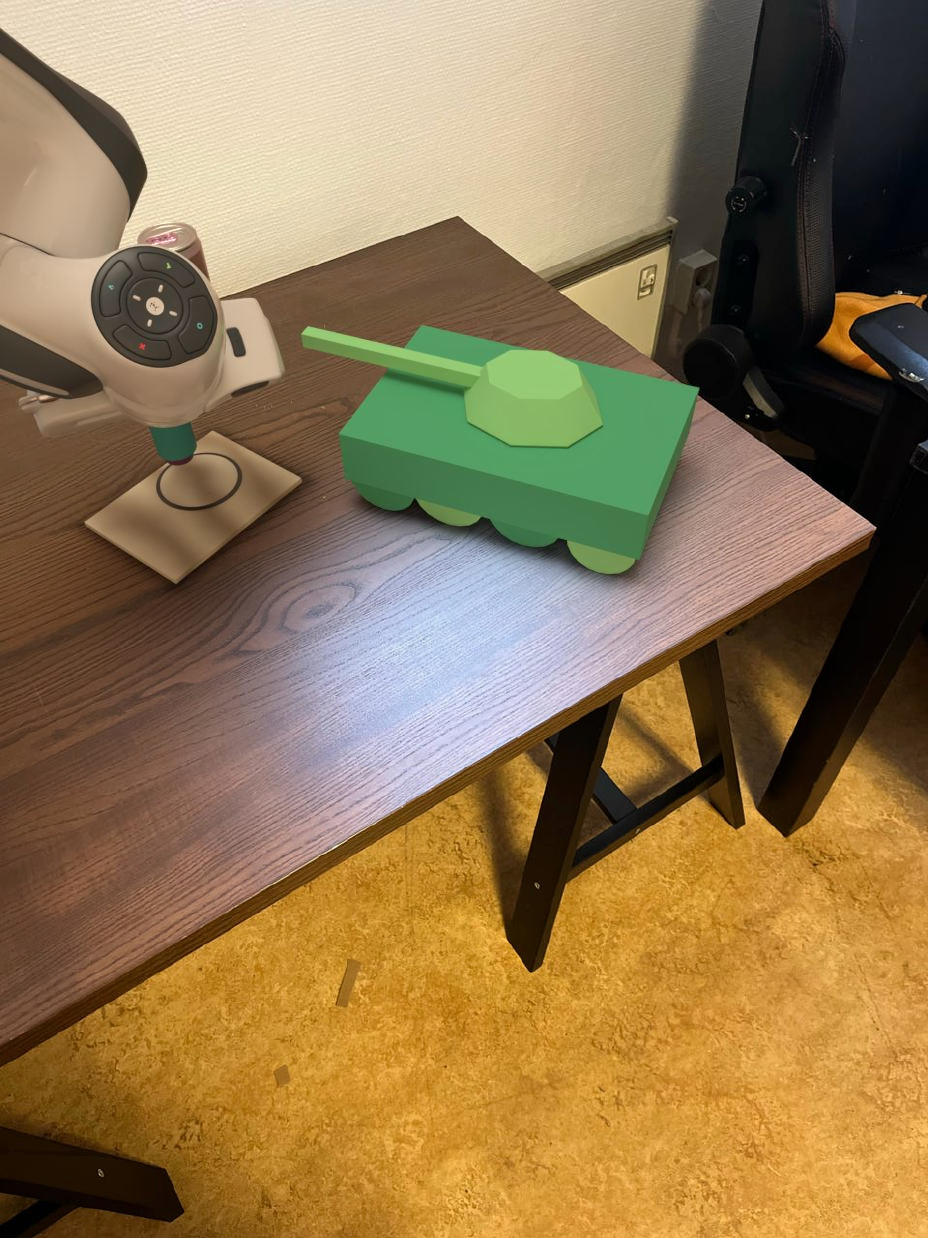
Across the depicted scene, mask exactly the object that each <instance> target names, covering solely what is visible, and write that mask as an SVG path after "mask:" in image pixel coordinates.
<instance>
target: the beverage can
mask: <svg viewBox="0 0 928 1238" xmlns="http://www.w3.org/2000/svg"><path fill="white" fill-rule="evenodd" d="M136 242H137V243H136V244H153V245H158V246H163V247H166V248H169V249H171V250H173V251H175V252H177V253H179V254H181V255H182V256H184V257H185V258H187V259H188V260H189V261H190V262H192V263H193V264H194V265H195V266H196V267H197V268H198V269H199V270H200V271H201V272H202V273H203V274H204V275H205V276H206V278H207V279H208V280H209V282H210V283H211V284H212V282H211V278H210V274H209V269H208V266H207V261H206V257H205V253H204V248H203V245H202V241H201V239H200V238H199V236H198V232H197V230H196V229H195V227H193V225H190V224H188V223H185V222H180V221H166V222H160V223H156V224H153V225H151V226H148V227H146V228H145V229H143V230H142V231H141V232H140V233H139V234H138V236H137V239H136Z"/></svg>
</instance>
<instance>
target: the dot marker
mask: <svg viewBox="0 0 928 1238" xmlns="http://www.w3.org/2000/svg"><path fill="white" fill-rule="evenodd" d="M148 428H149V432H150V434H151V437H152V440H153V441H152V442H153V445H154V447H155V450H156V453H157V456H159V458H160V459H162V460H165V462H166V463H169V464H170V465H174V466H180V465H184V464H187V463H188V462H190V461H191V460H192V459H193V457H194V452H195V450H196V448H197V443H196V442H197V440H196V437H195V433H194V430H193V429H194V428H193V425H192V421H190V422H188V423H185V424H183V425H179V426H175V427H168V428H158V427H151V426H148Z"/></svg>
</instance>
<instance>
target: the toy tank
mask: <svg viewBox="0 0 928 1238" xmlns="http://www.w3.org/2000/svg"><path fill="white" fill-rule="evenodd" d="M300 336H301V337H300V338H301V342H302V347H303V348H305V349H310V350H314V351H318V352H322V353H327V354H329V355H330V354H331V355H334V356H335V355H336V356H340V357H343V358H348V359H351V360H356V361H360V362H363V363H367V364H372V365H376V366H380V367H385V368H387V370H386V371H385V373H384V374H383V375H382V376H381V378H380V379H379V380H378V381H377V383H376V384H375V386H374V387H373V388H372V389H371V391H369V393H368V395H367V396H366V397H365V398H364V400H363V402H361V404H360V405H359V406H358V408H357V409H356V410H355V411H354V413H353V415H352V416H351V417H350V418H349V420H348V421H347V422H346V423H345V425H344V426H343V427H342V429H341V430H340V431H339V432H338V439H339V447H340V453H341V461H342V469H343V475H344V480H347V481H351V484H352V485H353V486H354V488H355V490H356V491H357V492H358V494H360V496H362V497H363V499H364V500H366V501H368V502H370V503H371V504H372V505H374V506H376V507H378V508H381V509H383V510H387V511H392V512H394V511H395V512H397V511H402V510H403V511H404V510H405V509H408V507H410V506H411V504H412V503H413V501H414V500H416V501H417V503H418V505H419V507H421V508H422V509H423V510H424V511H425V512H426V513H427V514H428V515H430V516H431V517H433V519H436V520H437V521H439V522H441V523H444V524H446V525H449V526H456V527H466V526H471V525H473V524H475V523H477V522H478V521H480V519H481V518H485V519H489V520H490V522H491V524H492V525H493V527H494V528H495V529H496V530H497V531H498V532H499V533H500V534H501V535H502V536H503V537H505V538H507V539H508V540H510V541H511V542H514V543H516V544H519V545H521V546H525V547H529V548H540V547H541V548H542V547H546V546H549V545H552V544H554V543H555V542H556V541H557V540H558V539H561V540H563V541H564V540H565V541H566V542H567V544H566V545H567V547H568V549H569V551H570V554H571V555H572V556H573V558H575V559H576V561H577V562H578V563H579V564H581V565H582V566H584V567H585V568H587V569H589V570H592V571H594V572H596V573H599V574H606V575H613V574H614V575H615V574H621V573H623V572H625V571H627V570H629V569H630V568H631V567H632V566H633V565H634V564H635V562H636V560H637V561H641V557H642V556H643V552H644V550H645V547H646V545H647V542H648V539H649V538H650V534H651V533H652V529H653V527H654V525H655V522H656V520H657V516H658V514H659V511H660V510H661V507H662V504H663V501H664V499H665V496H666V494H667V491H668V489H669V486H670V483H671V481H672V479H673V476H674V474H675V471H676V469H677V467H678V463H679V461H680V458H681V455H682V453H683V450H684V448H685V446H686V443H687V440H688V437H689V435H690V431H691V428H692V424H693V423H692V422H693V419H694V414H695V409H696V405H697V402H698V397H699V392H700V387H699V386H698V387H697V386H693V385H689V384H684V383H679V382H675V381H671V380H667V379H662V378H657V377H654V376H650V375H649V376H648V375H646V374H645V375H644V374H640V373H635V372H631V371H626V370H623V369H617V368H614V367H609V366H604V365H600V364H595V363H593V362H592V363H591V362H587V361H583V360H579V359H573V358H570V357H565V356H561V355H558V354H556V353H554V352H551V351H549V350H536V349H530V348H525V347H521V346H516V345H511V344H507V343H503V342H500V341H499V342H498V341H494V340H489V339H486V338H481V337H476V336H472V335H469V334H468V335H467V334H463V333H459V332H455V331H449V330H446V329H445V330H444V329H442V328H436V327H432V326H428V325H423V324H421V325H420V326H419V328H418V329H417V330H416V332H415V333H414V335H413V336H412V337H411V338H410V339H409V341H408V342H407V343H406V345H405V346H404V347H399V346H394V345H391V344H386V343H382V342H377V341H375V340H374V341H373V340H369V339H364V338H361V337H356V336H352V335H347V334H344V333H339V332H335V331H331V330H326V329H322V328H318V327H313V326H309V325H308V326H307V327H306V328H305V329H304V330H303V331H302V332H301V333H300Z"/></svg>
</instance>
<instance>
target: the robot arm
mask: <svg viewBox="0 0 928 1238" xmlns="http://www.w3.org/2000/svg"><path fill="white" fill-rule="evenodd" d="M147 180H148V167H147V164H146V161H145V158H144V155H143V152H142V150H141V147H140V144H139V143H138V141H137V138H136V136H135V134H134V132H133V130H132V128H131V127H130V125H129V124H128V122H127V120H126V119H125V117H124V116H123V115H122V114H121V113H120V112H119V111H118V110H117V109H116V108H114V107H113V106H112V105H111V104H109V103H108V102H107V101H106V100H104V99H102V98H101V97H99V96H98V95H96V94H95V93H93V92H91V91H90V90H88V89H87V88H85V87H83V86H81V85H80V84H79V83H77V82H75V81H73V80H72V79H70V78H69V77H68V76H65V75H64V74H62V73H60V72H59V71H57V70H56V69H54V68H53V67H51V66H50V65H48V64H47V63H46V62H45V61H43V60H42V59H41V58H39V57H38V56H37V55H35V54H34V53H33V52H32V51H30V50H29V48H27V47H25V46H24V45H23V44H21V42H19V41H18V40H17V39H16V38H14V37H13V36H12V35H10V34H9V33H8V32H7V31H5V30H4V29H3V28H1V27H0V380H1V381H4V382H5V383H8V384H11V385H13V386H16V387H18V388H21V389H24V390H26V396H22V397H20V398H19V399H18V408H19V409H20V410H21V411H22V412H23V413H24V414H25V415H33V417H34V420H35V422H36V424H37V427H38V430H39V432H40V435H41V436H42V438H44V439H58V438H63V437H67V436H70V435H73V434H77V433H82V432H85V431H89V430H92V429H97V428H100V427H105V426H108V425H112V424H115V423H120V422H123V421H127V420H132V421H134V422H136V423H138V424H141V425H144V426H147V427H149V426H151V427H158V428H168V427H175V426H179V425H183V424H185V423H188V422H192V421H193V420H196V419H197V418H198V417H200V415H202V414H203V413H204V412H209V411H211V410H213V409H215V408H217V407H218V406H219V405H222V404H223V403H225V402H227V401H229V400H231V399H232V398H238V397H240V396H242V395H245V394H247V393H251V392H254V391H256V390H259V389H262V388H265V387H267V386H269V385H272V384H276V383H278V381H279V380H281V379H283V378H284V377H285V376H286V374H287V369H286V367H285V363H284V360H283V356H282V354H281V350H280V346H279V344H278V341H277V338H276V336H275V333H274V330H273V327H272V324H271V322H270V319H268V318H267V317H266V316H265V314H264V312H263V308H262V307H261V305H260V303H259V301H258V299H256V298H253V297H243V298H229V299H220V297H219V294H218V292H217V291H216V289H215V287H214V286H213V284H212V282H211V283H210V282H209V280H208V279H207V278H206V276H205V275H204V274H203V273H202V272H201V271H200V270H199V269H198V268H197V267H196V266H195V265H194V264H193V263H192V262H190V261H189V260H188V259H187V258H185V257H184V256H182V255H181V254H179V253H177V252H175V251H173V250H171V249H169V248H166V247H163V246H158V245H153V244H138V243H135V244H130V245H126V246H123V247H120V244H121V241H122V239H123V236H124V232H125V229H126V226H127V224H128V223H129V222H130V220H131V217H132V215H133V212H134V210H135V208H136V205H137V203H138V201H139V198H140V196H141V193H142V192H143V189H144V187H145V185H146V182H147Z"/></svg>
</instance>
